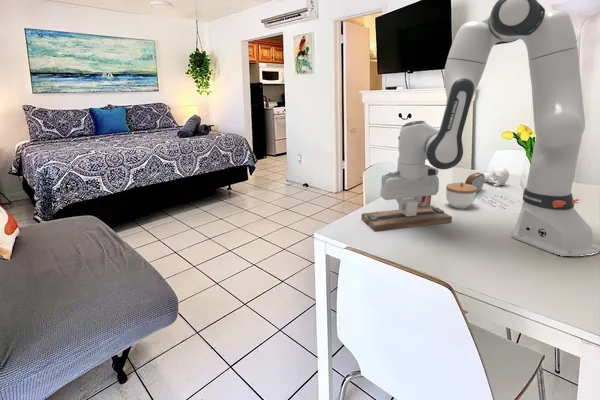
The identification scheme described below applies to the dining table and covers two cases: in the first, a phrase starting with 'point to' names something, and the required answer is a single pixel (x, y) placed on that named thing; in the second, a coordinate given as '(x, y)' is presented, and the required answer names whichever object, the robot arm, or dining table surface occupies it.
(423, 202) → the beverage can
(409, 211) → the fader tab
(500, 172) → the white irregular lump
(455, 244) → the dining table surface
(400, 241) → the dining table surface
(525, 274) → the dining table surface
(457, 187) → the lidded jar
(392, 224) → the fader board
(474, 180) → the tin
